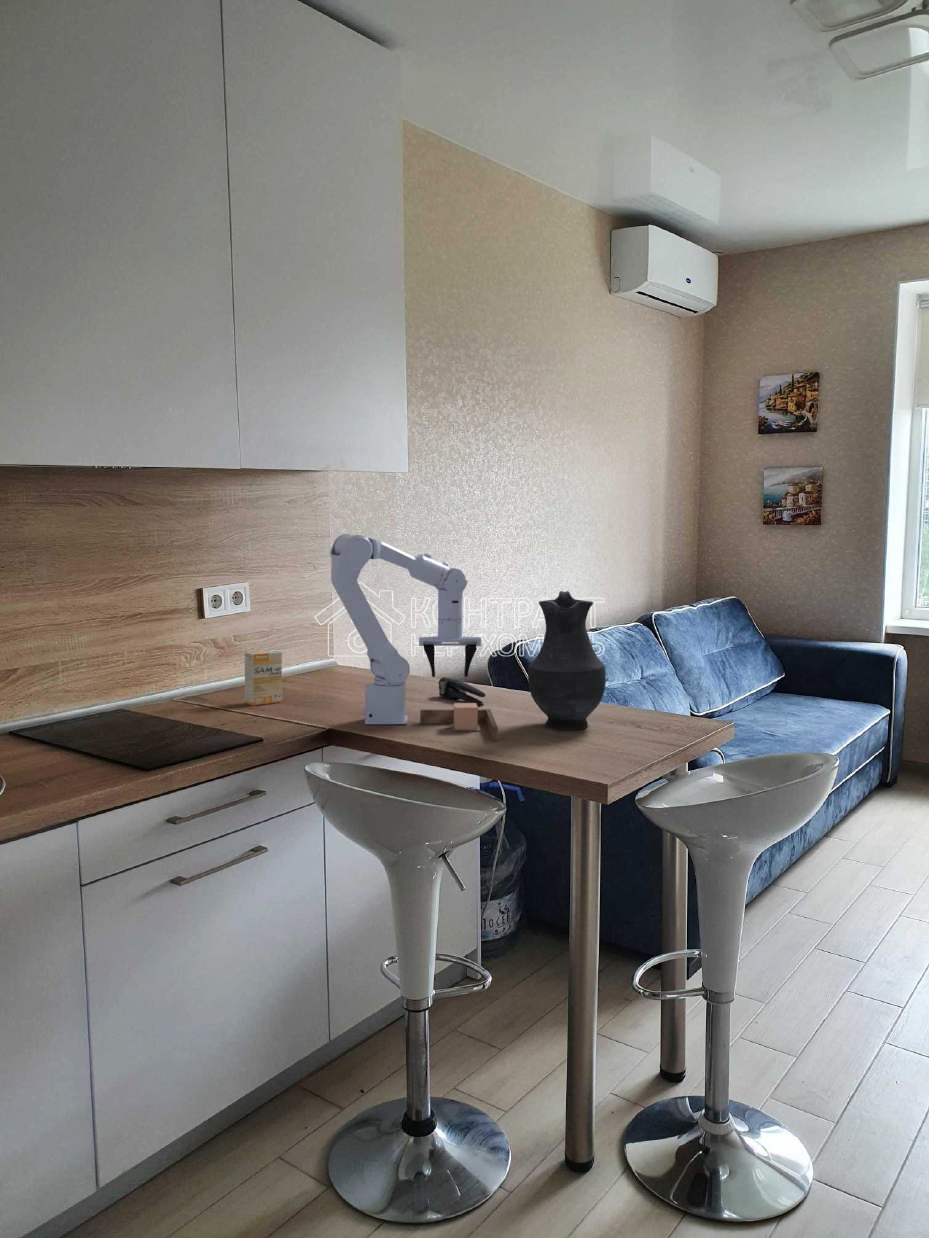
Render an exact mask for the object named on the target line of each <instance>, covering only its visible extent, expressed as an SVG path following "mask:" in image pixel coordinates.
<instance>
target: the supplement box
mask: <svg viewBox="0 0 929 1238" xmlns="http://www.w3.org/2000/svg"><path fill="white" fill-rule="evenodd" d="M282 653H283V651H280V650H277V649H273V650H272V649H270V650H259V651H257V650H256V651H245V652H244V703H245V704H247V705H249V706H252V707H253V706H263V705H269V704H276V703H278V702H279V703H282V702H283V654H282Z"/></svg>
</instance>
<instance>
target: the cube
mask: <svg viewBox="0 0 929 1238" xmlns="http://www.w3.org/2000/svg"><path fill="white" fill-rule="evenodd" d="M453 709H454V723H453V724H454V728H455V730H477V728H478V724H479V723H478V709H479V706H477V704H476V703H467V702H454V703H453Z"/></svg>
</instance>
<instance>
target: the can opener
mask: <svg viewBox="0 0 929 1238" xmlns="http://www.w3.org/2000/svg"><path fill="white" fill-rule="evenodd" d="M438 690H439V691H438V692H439V693H438V694H439V696H440V697H441V698H444V699H448V698H450V699H460V700H462V701H464V702H465V703H476V704H477V707H483V706H484V702H483V701H481V700H480V699H479V698H475V697H474V696H476V697H480V698H485V697H486V693H485V692H483V691H482V690H480V689H478V688H477V687H474V686H472V685H470V684H468V683H466V682H463V681H460V678H455V679H454V678H450V677H446V676H443V677H441V678H440V679H439V680H438ZM467 693H469V694H471V695H468V694H467ZM472 695H474V696H472Z"/></svg>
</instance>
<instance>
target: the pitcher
mask: <svg viewBox="0 0 929 1238" xmlns="http://www.w3.org/2000/svg"><path fill="white" fill-rule="evenodd" d="M593 604H594V601H591V600H584V599H583V600H582V599H575V598H574V597H572V595H571V592H570V591H569V590H567V591H563V590H561V591H559V592H558V596H557V597H556V598H555V599H548V600H547V599H546V600H540V601H538V605H539V607H540V609H541V610H542V613H543V617H544V620H545V633H544V637H543V642H542V645H541V647H540V650H539V652H538V653H537V655H536V657H535V659H533V661H532V662H531V663H529V665H528V670H527V671H528V672H527V679H528V680H527V681H528V688H529V689H528V690H529V691H530V696H531V698H532V699H533V701H534V703H535V704H536V706H537V707H538V708H539V709H540V710H541V712H543V714H544V715H545V716H546V717H547V720H545V723H544V726H545V727H546V728H548V729H552V730H558V731H579V730H583V729H587V728H588V727H589V722H588V720H587V718H588V717H589V716H590V715H592V713H593V712H594V711H595V709H597V707H598V706H600V703H601V701H602V700H603V697H604V694H605V690H606V680H607V679H606V678H607V677H606V676H607V673H606V665H605V664H604V663H603V662H602V660H600V658H599V657H598V655H597V654H596V651H595V650H594V647H593V645H592V642H591V639H590V636H589V634H588V630H587V626H586V621H587V617H588V614H589V611H590V609H591V607H592V606H593Z"/></svg>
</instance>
